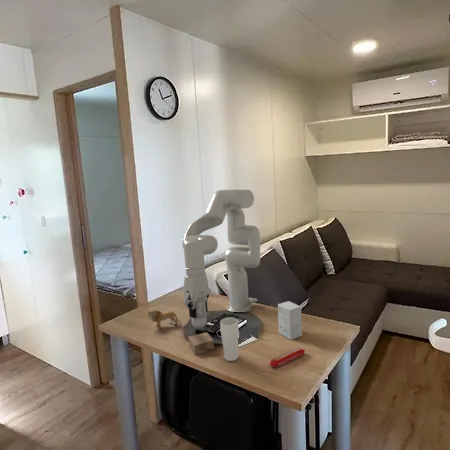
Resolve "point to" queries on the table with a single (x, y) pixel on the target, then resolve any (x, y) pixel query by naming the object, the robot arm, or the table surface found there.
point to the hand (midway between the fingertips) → (198, 314)
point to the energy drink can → (200, 311)
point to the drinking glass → (230, 338)
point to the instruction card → (247, 341)
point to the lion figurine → (162, 317)
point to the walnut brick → (201, 343)
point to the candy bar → (287, 357)
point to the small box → (290, 320)
